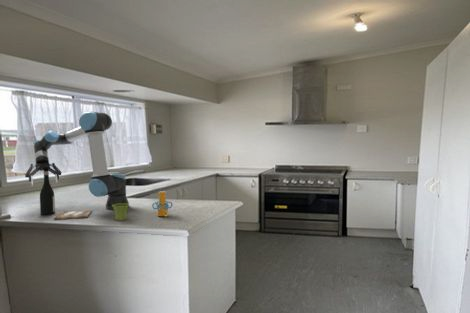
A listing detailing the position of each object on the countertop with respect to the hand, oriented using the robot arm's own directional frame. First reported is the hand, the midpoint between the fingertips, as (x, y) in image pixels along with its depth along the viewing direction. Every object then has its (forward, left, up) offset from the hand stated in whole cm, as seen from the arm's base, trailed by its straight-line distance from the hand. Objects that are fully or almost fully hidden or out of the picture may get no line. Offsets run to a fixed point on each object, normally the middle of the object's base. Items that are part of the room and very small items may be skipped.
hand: (44, 184), depth 207 cm
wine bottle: (-2, +3, -19) cm, 19 cm away
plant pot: (-48, +30, -19) cm, 60 cm away
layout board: (-19, +13, -19) cm, 29 cm away
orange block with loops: (-72, +28, -19) cm, 79 cm away
